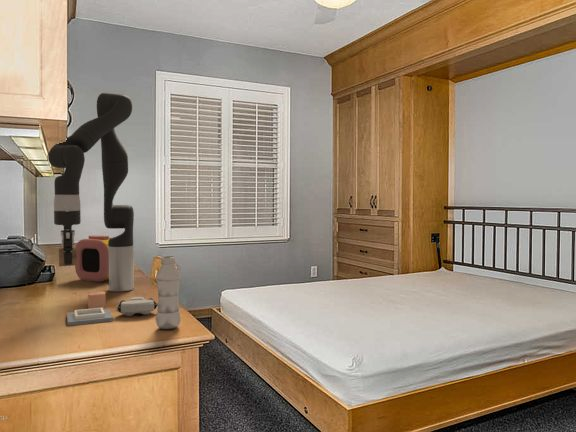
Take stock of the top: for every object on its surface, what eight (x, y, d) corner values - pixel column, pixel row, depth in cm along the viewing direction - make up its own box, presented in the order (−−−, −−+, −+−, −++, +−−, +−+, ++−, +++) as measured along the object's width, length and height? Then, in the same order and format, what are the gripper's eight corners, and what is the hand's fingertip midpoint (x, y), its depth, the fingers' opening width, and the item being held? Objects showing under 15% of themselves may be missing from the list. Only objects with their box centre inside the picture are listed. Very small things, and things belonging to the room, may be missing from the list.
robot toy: (117, 311, 152) (116, 319, 138) (116, 297, 152) (116, 304, 138) (155, 308, 156) (159, 316, 142) (155, 294, 156) (158, 301, 142)
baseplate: (67, 315, 142) (66, 309, 142) (108, 311, 147) (108, 305, 147) (67, 325, 131) (67, 318, 131) (112, 320, 137) (112, 314, 137)
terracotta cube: (88, 307, 153) (87, 292, 153) (104, 305, 156) (104, 291, 155) (89, 310, 149) (88, 295, 149) (105, 309, 151) (105, 293, 151)
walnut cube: (59, 264, 147) (58, 248, 147) (76, 263, 149) (76, 247, 149) (59, 266, 143) (58, 250, 142) (76, 265, 145) (76, 249, 145)
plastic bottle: (158, 325, 132) (157, 255, 131) (182, 324, 132) (182, 255, 132) (153, 331, 126) (152, 258, 125) (178, 331, 126) (178, 258, 125)
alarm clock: (73, 280, 202) (72, 236, 201) (93, 276, 212) (92, 234, 211) (106, 283, 195) (105, 237, 194) (124, 279, 205) (124, 235, 204)
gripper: (54, 209, 150) (55, 261, 151) (53, 210, 137) (54, 267, 138) (79, 208, 153) (80, 260, 154) (81, 209, 141) (82, 265, 141)
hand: (68, 263), depth 146 cm, fingers closed on walnut cube, 5 cm apart
